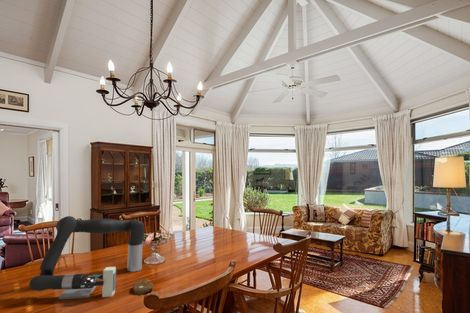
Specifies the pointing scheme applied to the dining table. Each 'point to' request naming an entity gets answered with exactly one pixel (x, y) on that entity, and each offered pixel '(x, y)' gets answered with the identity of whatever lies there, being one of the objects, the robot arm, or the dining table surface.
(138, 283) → the decorative rock
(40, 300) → the dining table surface
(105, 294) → the off-white rectangular block
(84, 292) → the slate tile
